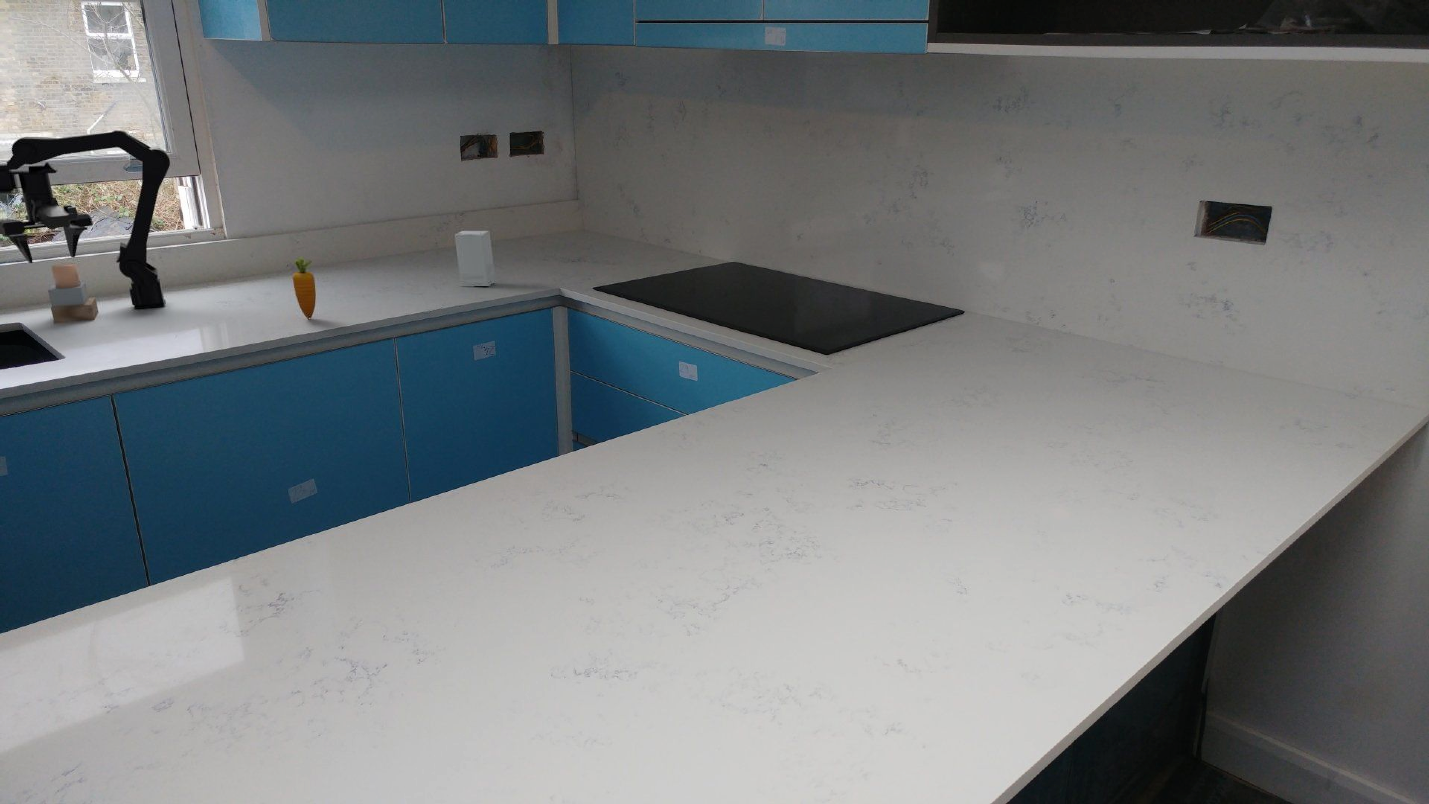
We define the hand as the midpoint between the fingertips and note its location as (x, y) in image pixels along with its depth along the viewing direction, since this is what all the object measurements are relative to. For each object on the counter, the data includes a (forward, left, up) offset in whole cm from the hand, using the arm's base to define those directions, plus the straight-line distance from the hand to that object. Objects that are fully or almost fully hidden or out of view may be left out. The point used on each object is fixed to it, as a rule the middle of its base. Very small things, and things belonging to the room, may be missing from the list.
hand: (52, 260), depth 224 cm
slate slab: (-2, +5, -10) cm, 11 cm away
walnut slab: (-3, +5, -14) cm, 15 cm away
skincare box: (-98, +8, -13) cm, 99 cm away
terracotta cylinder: (-3, +5, -6) cm, 8 cm away
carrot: (-53, +29, -13) cm, 62 cm away
